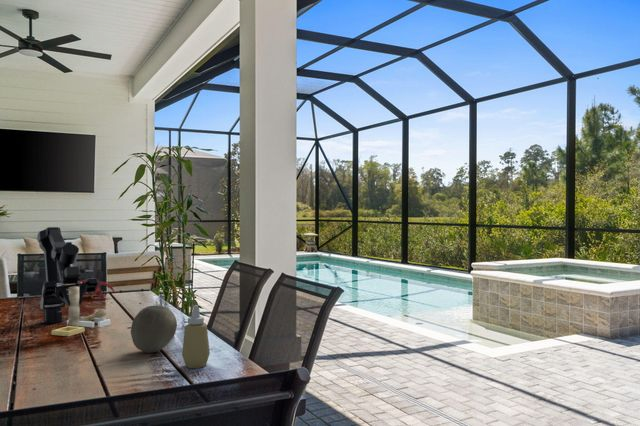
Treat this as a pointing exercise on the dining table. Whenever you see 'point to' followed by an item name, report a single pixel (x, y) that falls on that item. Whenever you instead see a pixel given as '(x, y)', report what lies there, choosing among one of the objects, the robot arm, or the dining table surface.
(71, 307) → the post
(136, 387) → the dining table surface
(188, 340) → the squeeze bottle
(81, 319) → the figurine
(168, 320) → the grey egg-shaped stone
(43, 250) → the robot arm
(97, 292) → the red toy dinosaur
